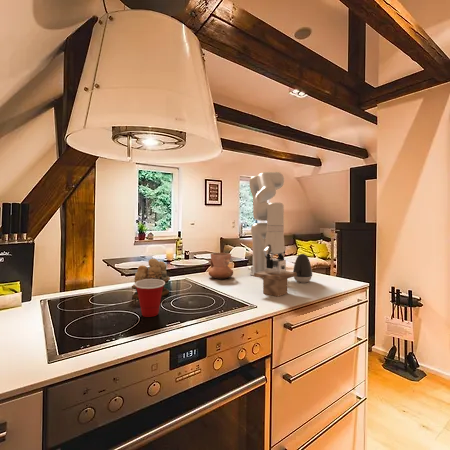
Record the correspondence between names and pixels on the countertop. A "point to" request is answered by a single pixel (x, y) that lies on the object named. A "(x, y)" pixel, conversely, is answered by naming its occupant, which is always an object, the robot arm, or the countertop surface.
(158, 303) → the plastic cup
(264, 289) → the walnut stand
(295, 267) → the dark egg shaped dome
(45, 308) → the countertop surface
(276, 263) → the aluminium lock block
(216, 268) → the ceramic jug
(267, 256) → the robot arm
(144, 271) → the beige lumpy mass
